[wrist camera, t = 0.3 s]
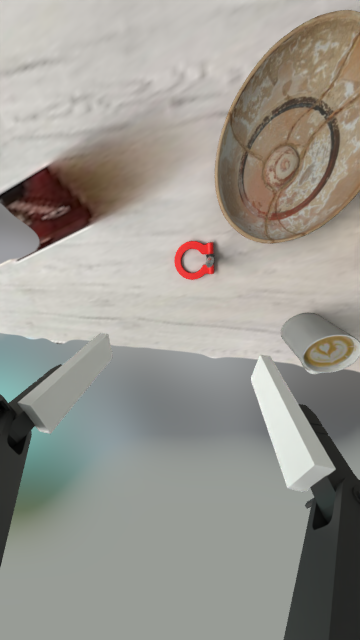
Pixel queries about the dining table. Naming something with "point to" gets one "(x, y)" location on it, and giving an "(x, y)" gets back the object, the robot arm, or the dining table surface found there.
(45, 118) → the dining table surface
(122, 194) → the dining table surface
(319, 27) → the ceramic bowl
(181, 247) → the tow hook
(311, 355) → the coffee mug
